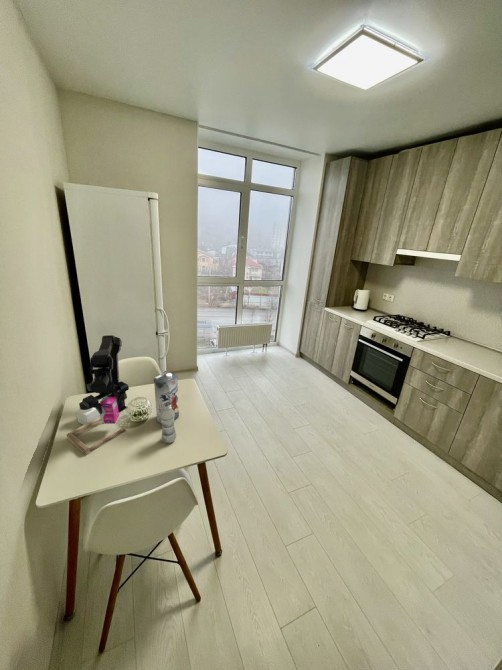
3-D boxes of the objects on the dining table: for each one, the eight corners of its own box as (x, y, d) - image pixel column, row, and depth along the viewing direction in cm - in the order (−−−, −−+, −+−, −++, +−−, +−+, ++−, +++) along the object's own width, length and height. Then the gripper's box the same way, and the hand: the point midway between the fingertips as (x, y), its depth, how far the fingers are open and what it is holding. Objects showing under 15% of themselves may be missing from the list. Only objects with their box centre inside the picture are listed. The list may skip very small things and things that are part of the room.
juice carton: (154, 422, 134) (150, 376, 125) (167, 411, 143) (165, 367, 134) (168, 428, 131) (165, 380, 122) (181, 416, 140) (179, 370, 131)
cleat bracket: (107, 418, 135) (106, 413, 134) (126, 431, 127) (125, 426, 126) (67, 439, 120) (66, 434, 119) (86, 455, 112) (85, 449, 111)
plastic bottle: (179, 437, 125) (177, 401, 118) (170, 447, 119) (168, 410, 112) (167, 433, 127) (165, 398, 120) (158, 443, 121) (155, 406, 114)
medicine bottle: (101, 419, 134) (97, 399, 130) (87, 427, 128) (83, 406, 124) (91, 414, 137) (88, 394, 133) (78, 422, 131) (74, 402, 127)
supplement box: (101, 424, 121) (98, 403, 117) (106, 416, 127) (103, 396, 123) (115, 424, 122) (112, 403, 118) (119, 415, 127) (116, 395, 123)
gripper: (113, 366, 128) (117, 394, 133) (72, 383, 113) (78, 413, 118) (127, 374, 122) (131, 402, 128) (86, 392, 107) (92, 423, 113)
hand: (109, 409), depth 122 cm, fingers closed on supplement box, 8 cm apart
